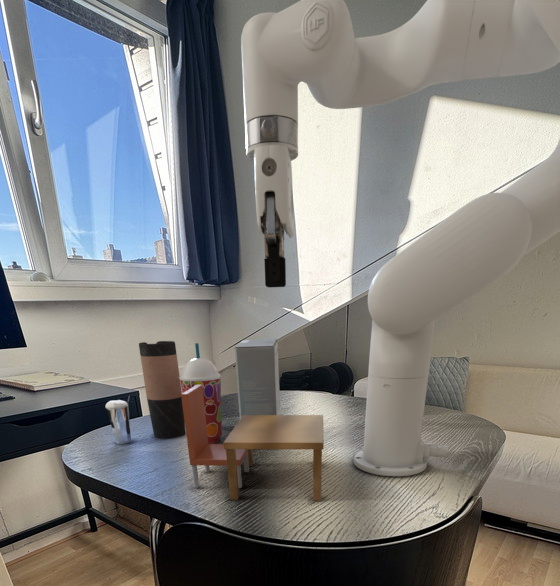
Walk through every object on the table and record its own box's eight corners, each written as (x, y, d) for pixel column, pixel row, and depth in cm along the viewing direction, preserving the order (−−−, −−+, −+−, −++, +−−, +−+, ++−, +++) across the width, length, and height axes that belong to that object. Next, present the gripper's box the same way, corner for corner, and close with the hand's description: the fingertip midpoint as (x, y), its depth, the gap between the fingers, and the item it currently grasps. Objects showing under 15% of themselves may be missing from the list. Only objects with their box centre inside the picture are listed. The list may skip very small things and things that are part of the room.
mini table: (322, 464, 74) (323, 414, 71) (322, 501, 60) (323, 442, 56) (246, 463, 76) (242, 415, 72) (228, 500, 61) (223, 442, 57)
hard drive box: (248, 429, 97) (243, 339, 89) (281, 428, 97) (278, 338, 89) (240, 449, 83) (233, 345, 75) (278, 449, 83) (275, 344, 74)
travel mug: (178, 439, 91) (165, 343, 82) (146, 438, 92) (131, 344, 84) (191, 430, 97) (181, 340, 89) (162, 429, 99) (149, 341, 90)
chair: (250, 470, 72) (244, 384, 66) (242, 488, 65) (235, 393, 58) (205, 469, 73) (196, 384, 66) (192, 487, 65) (180, 394, 59)
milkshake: (134, 444, 88) (125, 398, 84) (109, 445, 88) (99, 398, 84) (141, 438, 92) (133, 393, 88) (117, 439, 92) (108, 394, 88)
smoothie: (194, 435, 94) (183, 342, 85) (230, 435, 92) (222, 341, 84) (181, 446, 86) (168, 345, 78) (220, 447, 85) (211, 344, 77)
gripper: (295, 120, 52) (296, 283, 59) (300, 159, 65) (300, 288, 73) (236, 124, 52) (245, 285, 60) (253, 161, 66) (259, 289, 74)
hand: (275, 286), depth 66 cm, fingers closed
